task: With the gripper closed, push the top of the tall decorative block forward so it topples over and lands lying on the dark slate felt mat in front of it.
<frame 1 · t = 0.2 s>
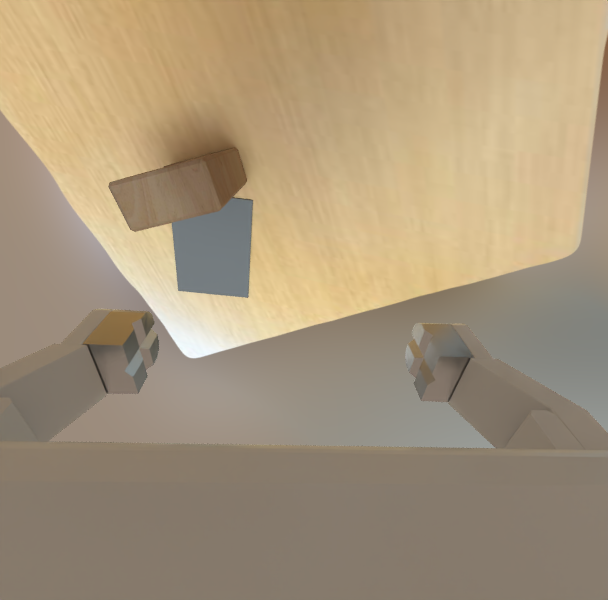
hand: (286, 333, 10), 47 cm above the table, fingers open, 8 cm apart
felt mat: (212, 248, 58), on the table
decorative block: (211, 173, 51), on the table, touching felt mat
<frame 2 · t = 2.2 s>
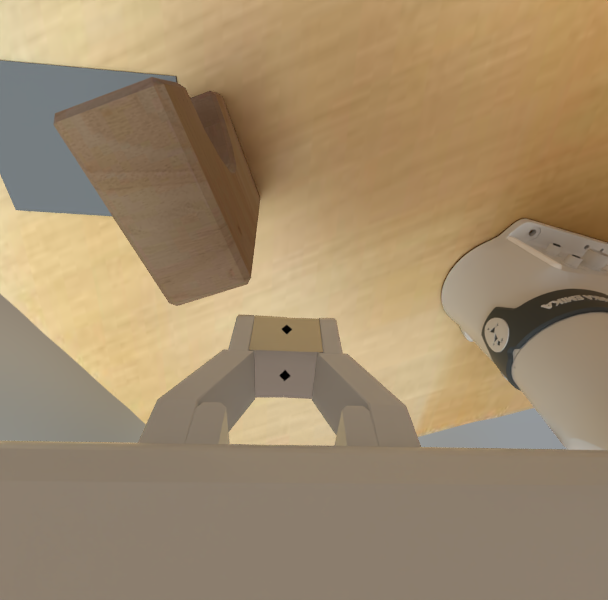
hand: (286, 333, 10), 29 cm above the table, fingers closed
felt mat: (89, 149, 33), on the table
decorative block: (219, 159, 33), on the table, touching felt mat
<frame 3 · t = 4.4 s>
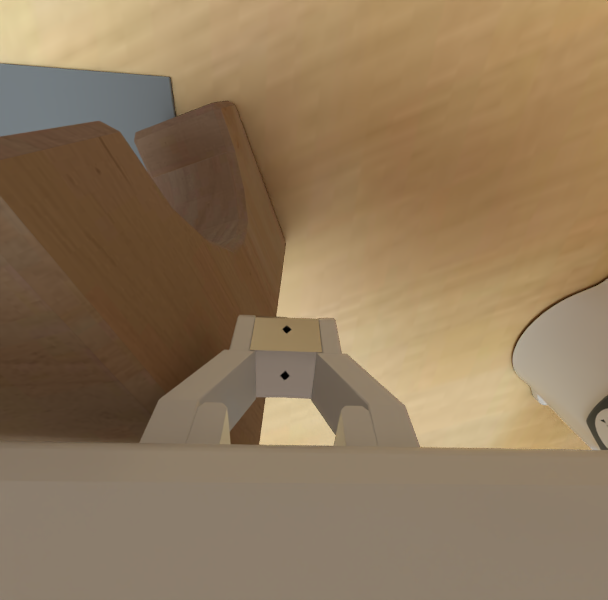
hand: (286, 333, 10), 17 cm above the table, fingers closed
felt mat: (51, 180, 23), on the table
decorative block: (231, 191, 24), on the table, touching felt mat, gripper
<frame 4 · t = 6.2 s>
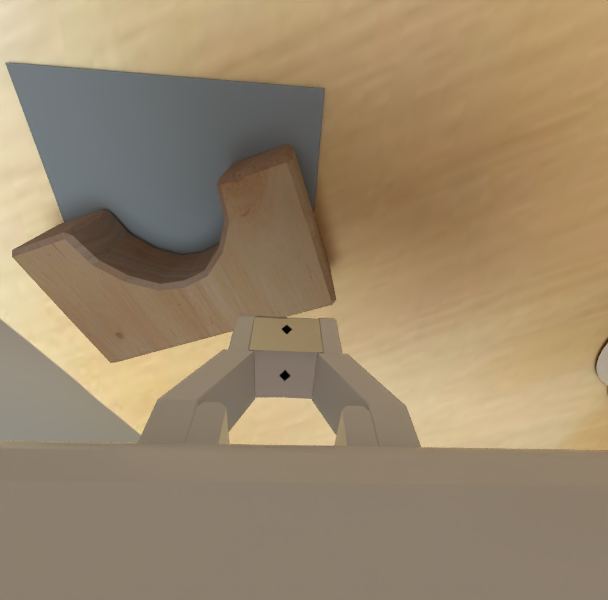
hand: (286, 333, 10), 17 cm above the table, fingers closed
felt mat: (186, 187, 24), on the table
decorative block: (318, 225, 23), point 3 cm above the table, touching felt mat
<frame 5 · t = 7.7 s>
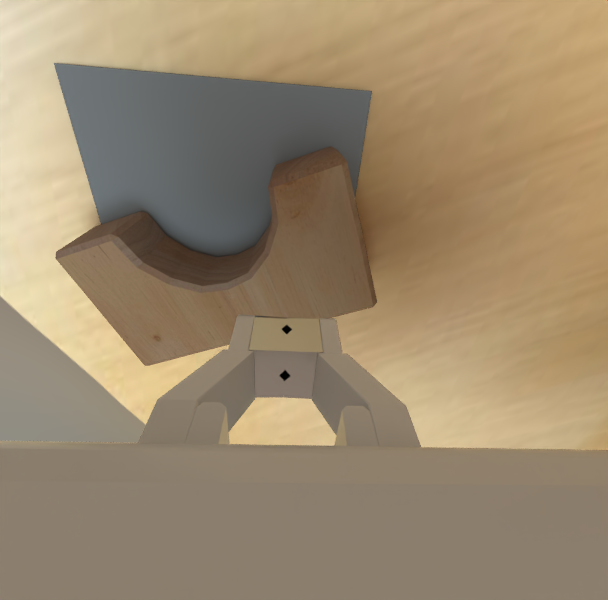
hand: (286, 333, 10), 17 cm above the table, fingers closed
felt mat: (225, 189, 24), on the table
decorative block: (360, 227, 23), point 3 cm above the table, touching felt mat
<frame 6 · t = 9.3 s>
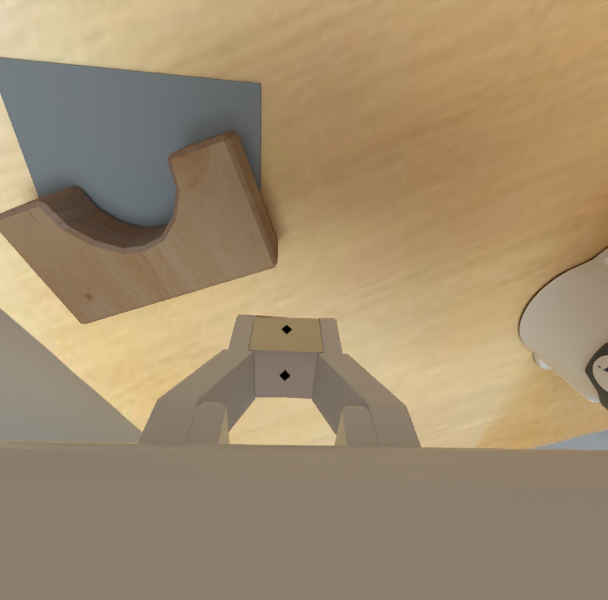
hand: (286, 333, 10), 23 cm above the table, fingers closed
felt mat: (147, 167, 28), on the table
decorative block: (260, 198, 27), point 3 cm above the table, touching felt mat
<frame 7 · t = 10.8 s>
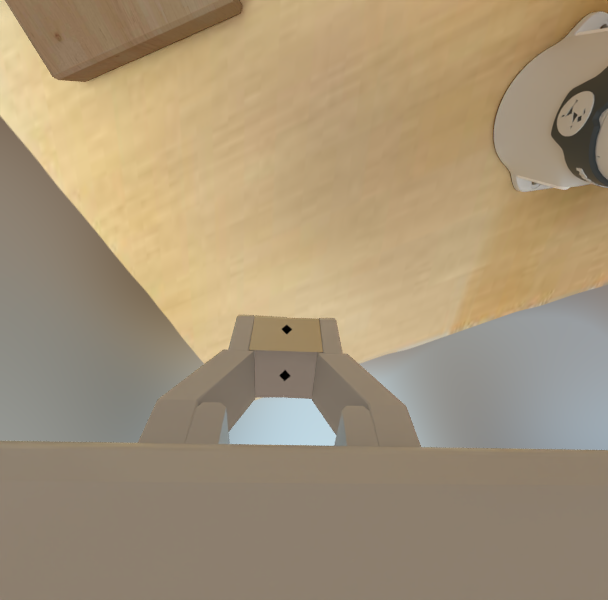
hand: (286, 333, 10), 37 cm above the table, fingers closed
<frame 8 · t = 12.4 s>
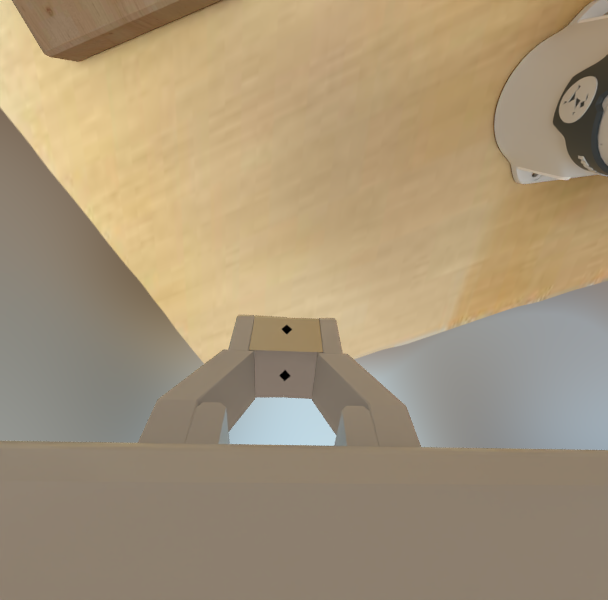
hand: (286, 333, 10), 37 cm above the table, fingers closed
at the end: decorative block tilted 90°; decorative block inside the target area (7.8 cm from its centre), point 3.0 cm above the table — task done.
